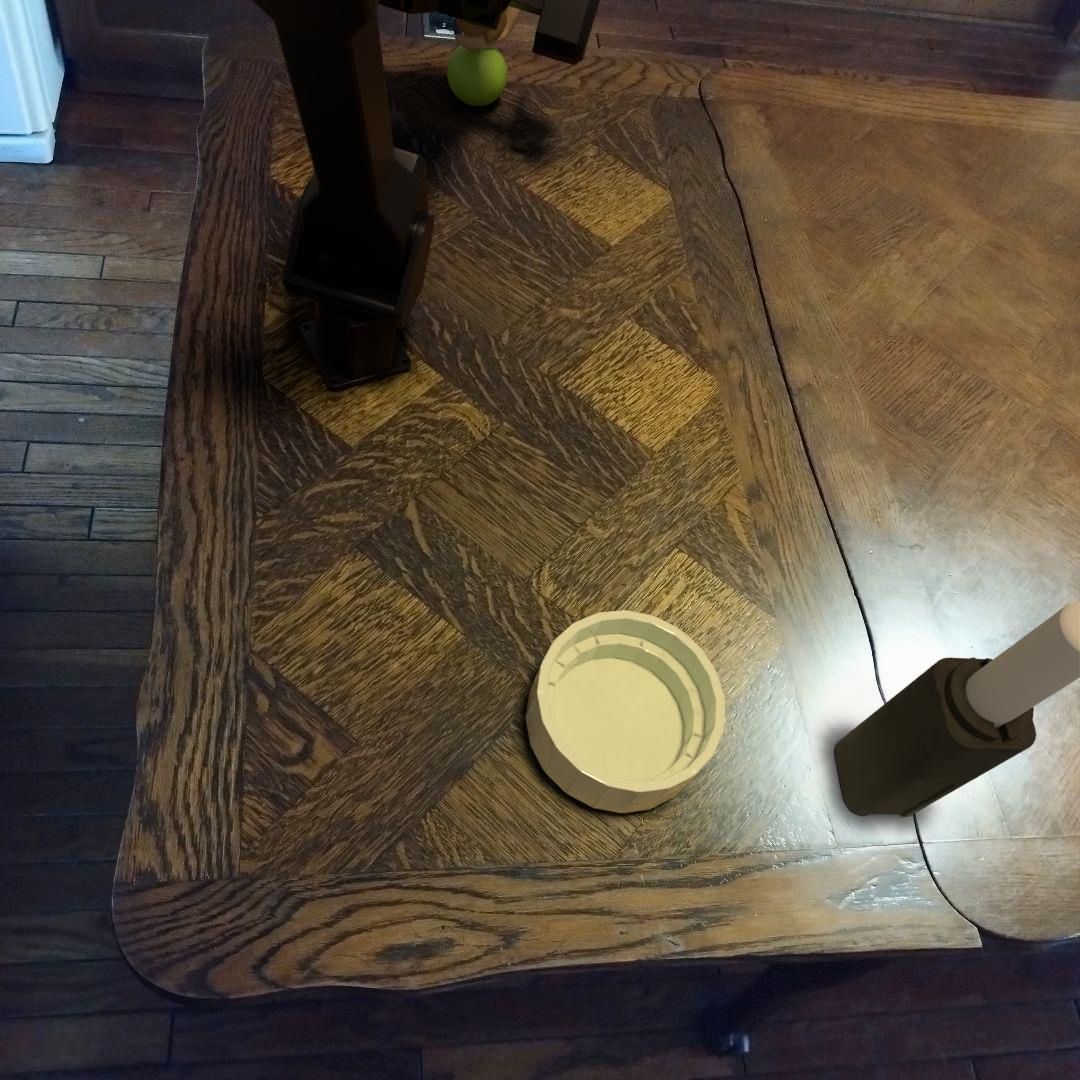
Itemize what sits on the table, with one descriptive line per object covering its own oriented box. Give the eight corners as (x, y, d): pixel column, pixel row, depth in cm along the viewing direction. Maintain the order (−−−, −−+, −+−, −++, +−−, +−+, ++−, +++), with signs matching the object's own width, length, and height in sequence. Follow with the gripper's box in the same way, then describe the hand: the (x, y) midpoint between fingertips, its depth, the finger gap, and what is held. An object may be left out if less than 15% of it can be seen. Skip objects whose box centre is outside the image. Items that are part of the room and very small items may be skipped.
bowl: (732, 768, 62) (761, 741, 57) (579, 848, 57) (598, 825, 53) (642, 620, 66) (662, 585, 62) (493, 684, 62) (504, 651, 58)
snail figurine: (521, 115, 92) (543, -13, 82) (455, 121, 90) (470, -8, 79) (500, 78, 94) (519, -50, 84) (436, 84, 92) (448, -47, 82)
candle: (903, 739, 65) (1174, 545, 44) (921, 817, 62) (1219, 651, 41) (830, 737, 64) (1070, 538, 43) (846, 816, 61) (1109, 645, 40)
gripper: (626, -129, 69) (621, -46, 84) (370, -209, 69) (412, -112, 84) (578, 38, 71) (581, 88, 87) (331, -40, 71) (378, 24, 86)
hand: (490, 20), depth 86 cm, fingers open, 9 cm apart
